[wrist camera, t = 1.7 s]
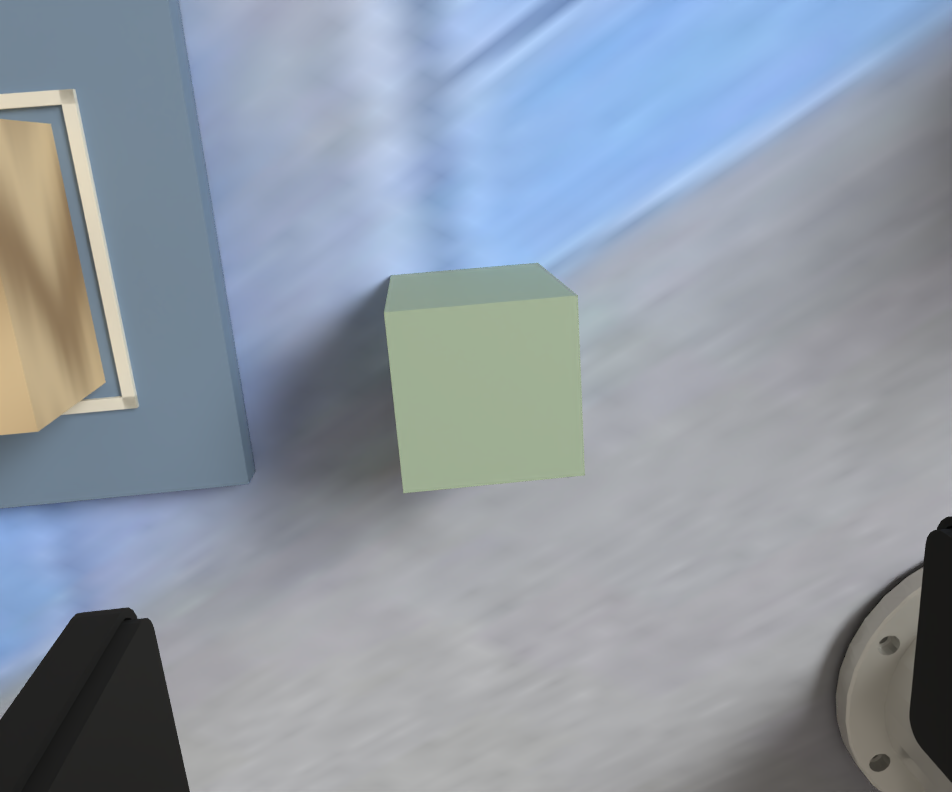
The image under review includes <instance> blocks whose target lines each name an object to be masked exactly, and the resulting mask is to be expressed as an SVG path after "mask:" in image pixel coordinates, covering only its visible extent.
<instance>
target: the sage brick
mask: <svg viewBox="0 0 952 792" xmlns="http://www.w3.org/2000/svg"><path fill="white" fill-rule="evenodd" d="M384 318H385V327H386V337H387V346H388V355H389V364H390V374H391V383H392V392H393V401H394V411H395V420H396V429H397V438H398V448H399V457H400V466H401V475H402V485H403V493H411V492H421V491H431V490H441V489H451V488H461V487H472V486H482V485H492V484H502V483H512V482H522V481H532V480H543V479H553V478H563V477H573V476H583V475H585V470H584V445H583V420H582V394H581V369H580V344H579V319H578V295H576V294H575V293H574V292H573V291H572V290H570V289H569V288H568V287H567V286H565V285H564V284H563V283H562V282H561V281H559V280H558V279H557V278H556V277H554V276H553V275H552V274H551V273H550V272H548V271H547V270H546V269H545V268H543V267H542V266H541V265H540V264H539V263H530V264H518V265H507V266H495V267H483V268H471V269H460V270H448V271H436V272H425V273H413V274H401V275H391V277H390V282H389V288H388V293H387V298H386V304H385V309H384Z"/></svg>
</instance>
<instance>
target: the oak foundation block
mask: <svg viewBox="0 0 952 792" xmlns="http://www.w3.org/2000/svg"><path fill="white" fill-rule="evenodd" d="M104 383H106V381H105V376H104V372H103V367H102V362H101V358H100V353H99V348H98V343H97V339H96V334H95V329H94V325H93V320H92V315H91V310H90V306H89V301H88V296H87V292H86V287H85V282H84V277H83V273H82V268H81V263H80V259H79V254H78V249H77V244H76V240H75V235H74V230H73V226H72V221H71V216H70V211H69V207H68V202H67V197H66V193H65V188H64V183H63V178H62V174H61V169H60V164H59V160H58V155H57V150H56V145H55V141H54V136H53V131H52V127H51V124H47V123H37V122H27V121H17V120H7V119H0V435H8V434H18V433H29V432H38V431H40V430H41V429H43V428H44V427H45V426H47V425H48V424H49V423H51V422H52V421H54V420H55V419H56V418H58V417H59V416H60V415H62V414H63V413H64V412H66V411H67V410H69V409H70V408H71V407H73V406H74V405H75V404H77V403H78V402H80V401H81V400H82V399H84V398H85V397H86V396H88V395H89V394H91V393H92V392H93V391H95V390H96V389H97V388H99V387H100V386H102V385H103V384H104Z"/></svg>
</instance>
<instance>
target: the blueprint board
mask: <svg viewBox="0 0 952 792" xmlns="http://www.w3.org/2000/svg"><path fill="white" fill-rule="evenodd" d="M0 119H7V120H17V121H27V122H37V123H47V124H51V127H52V131H53V136H54V141H55V145H56V150H57V155H58V160H59V164H60V169H61V174H62V178H63V183H64V188H65V193H66V197H67V202H68V207H69V211H70V216H71V221H72V226H73V230H74V235H75V240H76V244H77V249H78V254H79V259H80V263H81V268H82V273H83V277H84V282H85V287H86V292H87V296H88V301H89V306H90V310H91V315H92V320H93V325H94V329H95V334H96V339H97V343H98V348H99V353H100V358H101V362H102V367H103V372H104V376H105V381H106V383H104V384H103V385H102V386H100V387H99V388H97V389H96V390H95V391H93V392H92V393H91V394H89V395H88V396H86V397H85V398H84V399H82V400H81V401H80V402H78V403H77V404H75V405H74V406H73V407H71V408H70V409H69V410H67V411H66V412H64V413H63V414H62V415H60V416H59V417H58V418H56V419H55V420H54V421H52V422H51V423H49V424H48V425H47V426H45V427H44V428H43V429H41V430H40V431H38V432H29V433H18V434H8V435H0V508H10V507H20V506H30V505H41V504H51V503H61V502H71V501H82V500H92V499H102V498H112V497H122V496H133V495H143V494H153V493H163V492H174V491H184V490H194V489H204V488H214V487H225V486H235V485H245V484H249V483H250V481H251V479H252V477H253V475H254V473H255V466H254V460H253V454H252V448H251V442H250V436H249V430H248V424H247V417H246V411H245V405H244V399H243V393H242V387H241V381H240V375H239V368H238V362H237V356H236V350H235V344H234V338H233V332H232V326H231V319H230V313H229V307H228V301H227V295H226V289H225V283H224V277H223V270H222V264H221V258H220V252H219V246H218V240H217V234H216V228H215V221H214V215H213V209H212V203H211V197H210V191H209V185H208V179H207V172H206V166H205V160H204V154H203V148H202V142H201V136H200V130H199V123H198V117H197V111H196V105H195V99H194V93H193V87H192V81H191V74H190V68H189V62H188V56H187V50H186V44H185V38H184V32H183V25H182V19H181V13H180V7H179V1H178V0H0Z"/></svg>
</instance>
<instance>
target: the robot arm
mask: <svg viewBox="0 0 952 792" xmlns="http://www.w3.org/2000/svg"><path fill="white" fill-rule="evenodd" d="M836 714H837V722H838V726H839V729H840V733H841V736H842V740H843V743H844V744H845V746H846V748H847V750H848V751H849V753H850V755H851V757H852V758H853V760H854V762H855V763H856V764H857V766H858V767H859V768H860V770H861V771H862V772H863V773H864V775H865V776H866V777H867V778H868V780H869V781H870V782H871V784H872V785H873V786H874V787H876V788H877V789H878V790H879V791H881V792H952V517H946V518H945V519H943V520H942V521H941V522H940V524H939V525H938V527H937V530H934V531H932V532H931V533H930V534H929V535H928V537H927V540H926V546H925V556H924V566H923V567H922V568H921V569H919V570H917V571H916V572H914V573H913V574H911V575H909V576H908V577H907V578H905V579H904V580H903V581H902V582H901V583H899V584H898V585H897V586H896V587H895V588H894V589H892V590H891V591H890V592H889V593H888V594H887V595H885V596H884V597H883V598H882V600H881V601H880V602H879V603H878V604H877V605H876V607H875V608H874V609H873V610H872V611H871V613H870V614H869V615H868V616H867V617H866V618H865V620H864V621H863V623H862V624H861V626H860V628H859V629H858V631H857V633H856V634H855V636H854V638H853V639H852V641H851V643H850V644H849V647H848V650H847V652H846V655H845V658H844V660H843V663H842V666H841V668H840V672H839V678H838V684H837V690H836ZM0 792H190V791H189V786H188V781H187V777H186V772H185V768H184V763H183V758H182V754H181V749H180V745H179V740H178V736H177V731H176V726H175V722H174V717H173V713H172V708H171V704H170V699H169V694H168V690H167V685H166V681H165V676H164V671H163V667H162V662H161V658H160V653H159V649H158V644H157V639H156V635H155V630H154V627H153V624H152V622H151V621H150V620H149V619H148V618H144V619H137V616H136V614H135V613H134V611H133V610H132V609H130V608H120V609H111V610H101V611H92V612H83V613H78V614H76V615H75V616H74V617H73V618H72V619H71V620H70V622H69V623H68V625H67V626H66V627H65V629H64V630H63V632H62V633H61V635H60V636H59V637H58V639H57V640H56V642H55V643H54V644H53V646H52V647H51V649H50V650H49V652H48V653H47V654H46V656H45V657H44V659H43V660H42V661H41V663H40V664H39V666H38V667H37V669H36V670H35V671H34V673H33V674H32V676H31V677H30V679H29V680H28V681H27V683H26V684H25V686H24V687H23V688H22V690H21V691H20V693H19V694H18V696H17V697H16V698H15V700H14V701H13V703H12V704H11V705H10V707H9V708H8V710H7V711H6V713H5V714H4V715H3V717H2V718H1V720H0Z"/></svg>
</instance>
